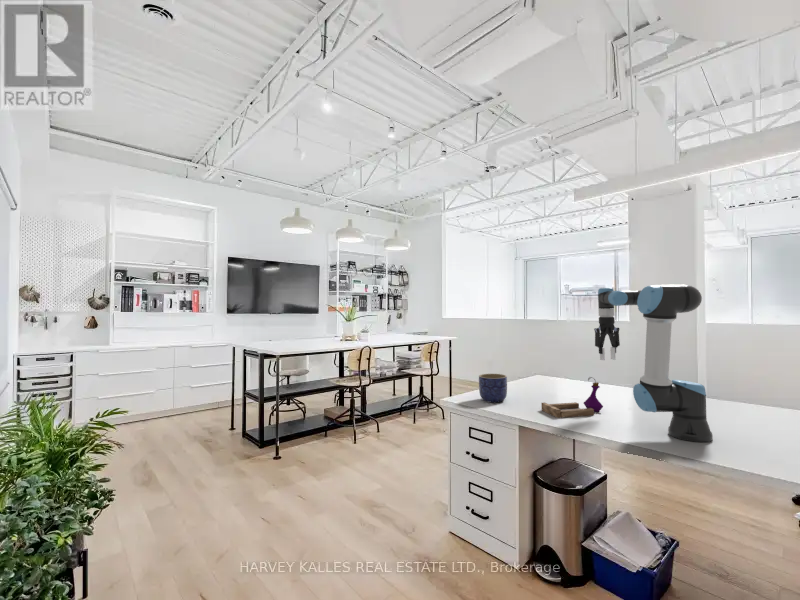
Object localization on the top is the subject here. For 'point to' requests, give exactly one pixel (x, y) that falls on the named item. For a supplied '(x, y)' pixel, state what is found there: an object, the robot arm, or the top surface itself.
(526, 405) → the top surface
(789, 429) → the top surface
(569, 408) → the u rest
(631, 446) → the top surface
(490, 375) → the planter
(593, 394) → the purple potion bottle
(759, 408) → the top surface
